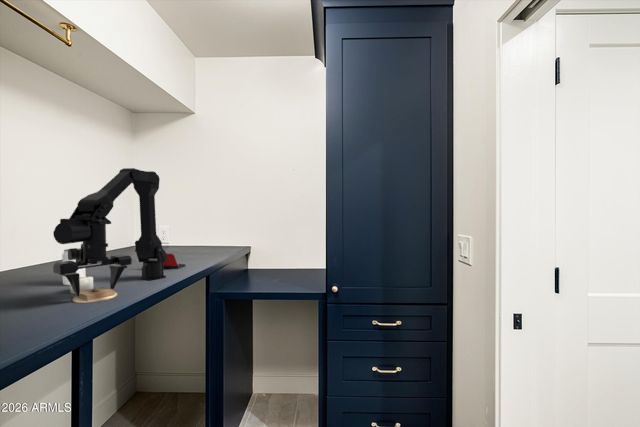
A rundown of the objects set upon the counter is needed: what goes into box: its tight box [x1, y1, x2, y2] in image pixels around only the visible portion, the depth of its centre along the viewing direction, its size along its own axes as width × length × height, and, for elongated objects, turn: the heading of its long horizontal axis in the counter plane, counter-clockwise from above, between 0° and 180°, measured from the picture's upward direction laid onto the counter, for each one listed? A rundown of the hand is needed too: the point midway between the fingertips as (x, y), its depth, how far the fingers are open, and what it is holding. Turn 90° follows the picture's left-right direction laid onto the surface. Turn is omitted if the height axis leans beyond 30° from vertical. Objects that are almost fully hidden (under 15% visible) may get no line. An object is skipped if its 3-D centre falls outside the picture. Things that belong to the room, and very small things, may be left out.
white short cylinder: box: [69, 276, 94, 294], centre depth 105 cm, size 6×6×4 cm
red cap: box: [163, 253, 186, 270], centre depth 144 cm, size 12×11×7 cm
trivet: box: [72, 291, 118, 304], centre depth 98 cm, size 11×11×1 cm
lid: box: [75, 286, 116, 301], centre depth 98 cm, size 7×7×2 cm
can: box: [61, 247, 87, 286], centre depth 116 cm, size 6×6×12 cm
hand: (95, 292), depth 98 cm, fingers open, 9 cm apart
